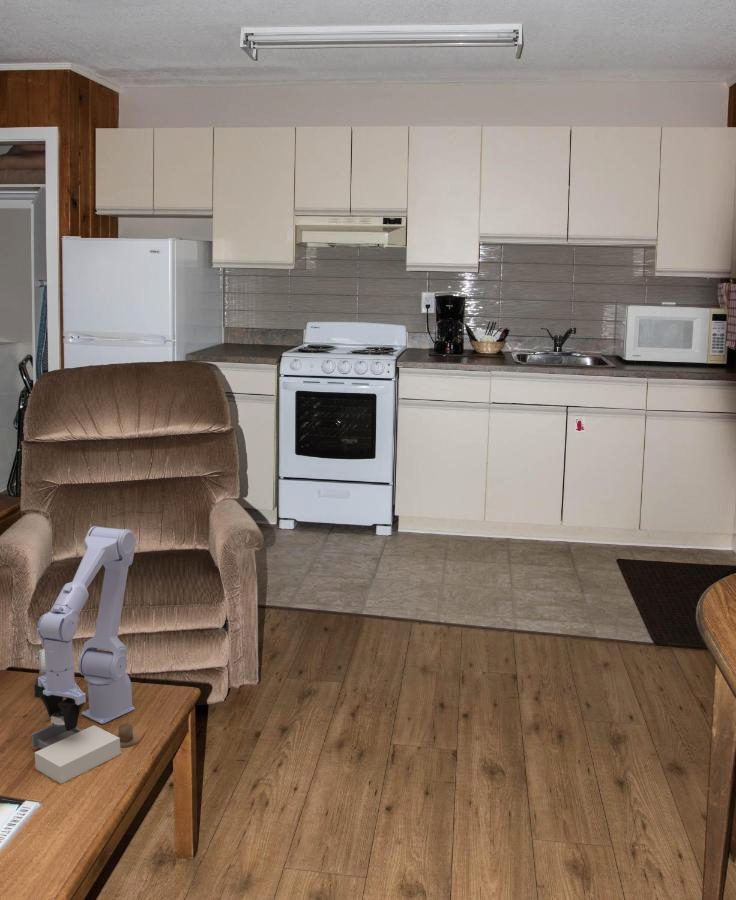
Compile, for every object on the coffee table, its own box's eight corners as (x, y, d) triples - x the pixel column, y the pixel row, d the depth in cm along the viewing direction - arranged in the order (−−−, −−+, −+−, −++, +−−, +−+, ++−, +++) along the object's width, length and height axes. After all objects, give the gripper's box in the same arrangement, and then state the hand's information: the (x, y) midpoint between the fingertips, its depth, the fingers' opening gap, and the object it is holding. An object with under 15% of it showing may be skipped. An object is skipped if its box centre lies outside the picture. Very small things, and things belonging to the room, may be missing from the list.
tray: (32, 747, 206) (31, 733, 205) (73, 728, 214) (72, 715, 213) (56, 760, 200) (55, 747, 200) (97, 740, 208) (96, 727, 208)
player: (35, 768, 199) (33, 752, 198) (94, 740, 210) (93, 724, 209) (61, 783, 193) (60, 766, 192) (120, 754, 205) (119, 737, 204)
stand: (128, 732, 214) (127, 717, 213) (144, 740, 210) (143, 725, 210) (107, 742, 209) (107, 727, 209) (123, 750, 206) (123, 735, 205)
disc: (66, 713, 209) (66, 707, 209) (80, 720, 206) (79, 714, 206) (46, 721, 205) (46, 715, 205) (60, 729, 202) (59, 722, 202)
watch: (62, 684, 237) (59, 642, 235) (57, 698, 229) (54, 656, 227) (39, 685, 236) (36, 644, 234) (33, 700, 228) (30, 658, 226)
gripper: (23, 663, 204) (28, 721, 207) (63, 682, 196) (67, 742, 198) (52, 652, 210) (56, 709, 213) (92, 670, 201) (96, 729, 204)
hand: (63, 724), depth 206 cm, fingers closed on disc, 5 cm apart
